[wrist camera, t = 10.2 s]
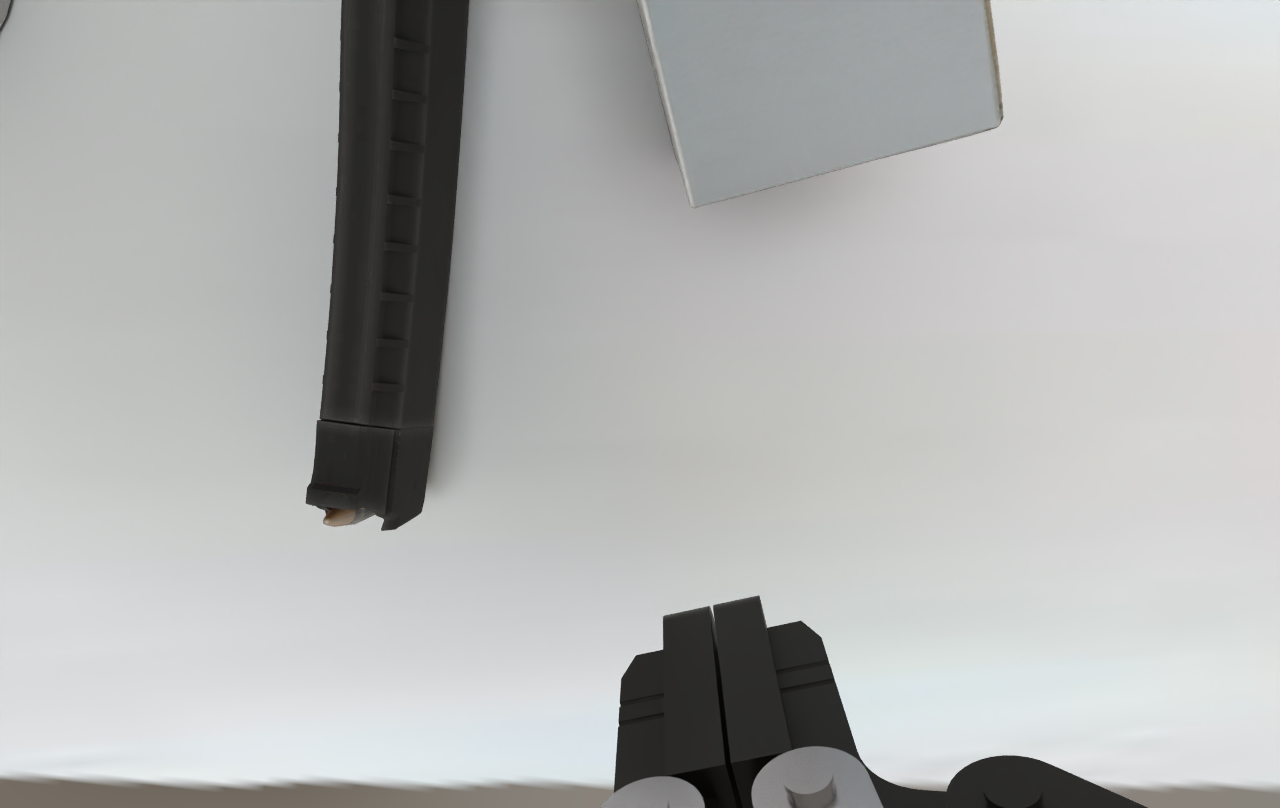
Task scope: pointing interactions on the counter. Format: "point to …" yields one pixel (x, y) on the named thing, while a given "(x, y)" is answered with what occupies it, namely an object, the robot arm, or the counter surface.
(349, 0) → the magazine
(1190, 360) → the counter surface
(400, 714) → the counter surface
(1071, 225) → the counter surface
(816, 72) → the hard drive box
